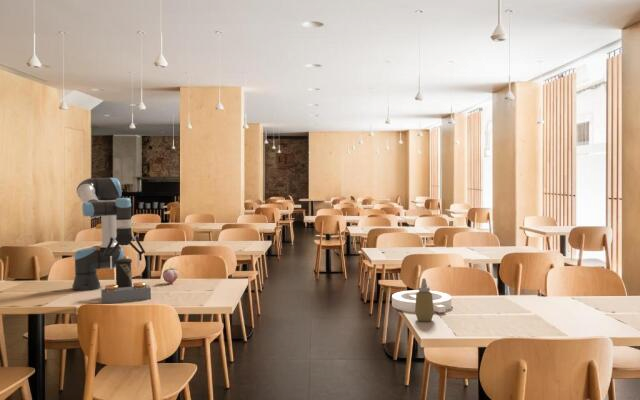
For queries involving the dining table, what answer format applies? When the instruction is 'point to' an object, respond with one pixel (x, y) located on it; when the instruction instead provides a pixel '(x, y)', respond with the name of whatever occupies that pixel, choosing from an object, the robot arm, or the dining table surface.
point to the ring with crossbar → (408, 301)
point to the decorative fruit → (170, 275)
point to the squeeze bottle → (424, 303)
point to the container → (123, 273)
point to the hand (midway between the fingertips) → (125, 267)
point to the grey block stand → (125, 294)
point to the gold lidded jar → (139, 285)
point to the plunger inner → (111, 287)
